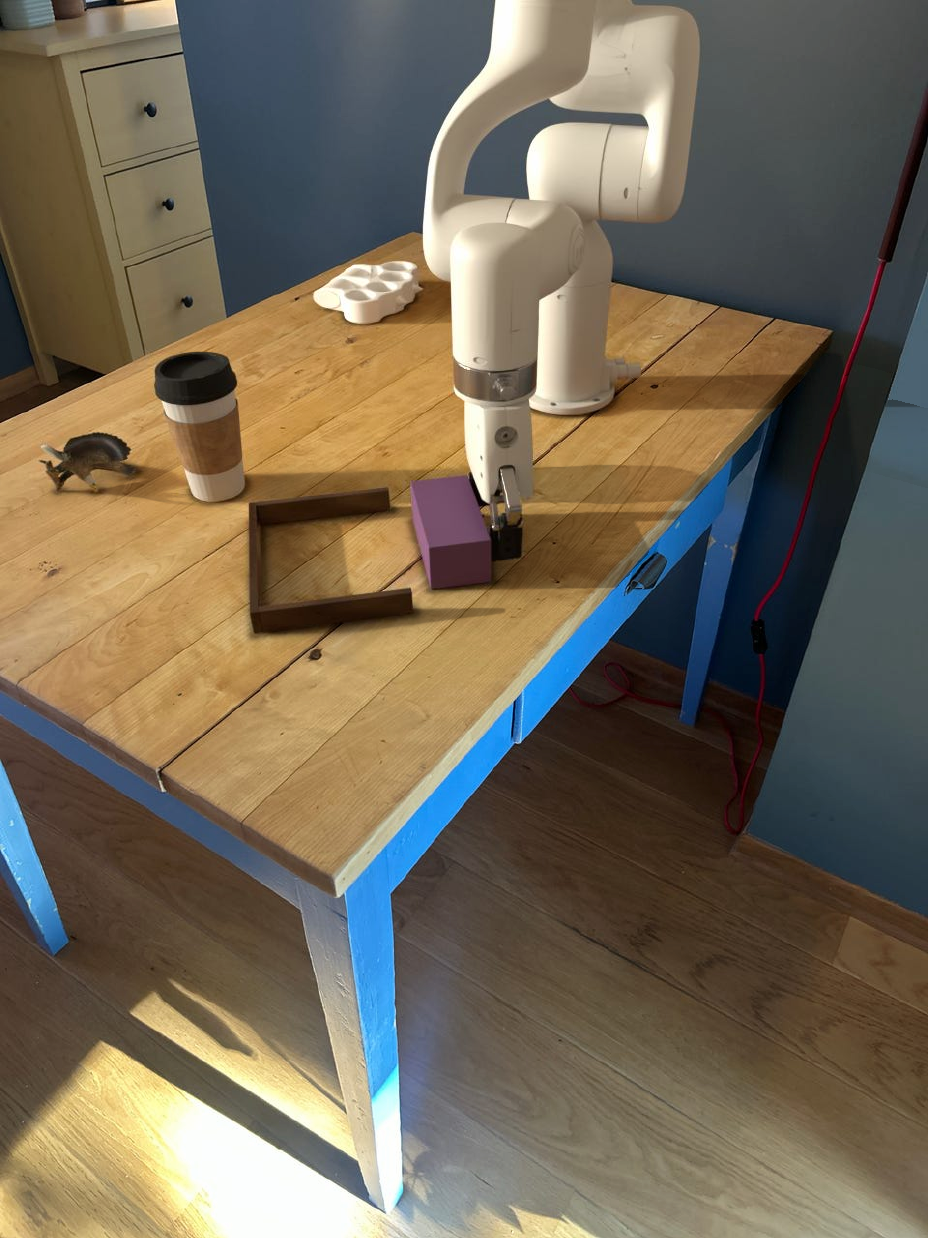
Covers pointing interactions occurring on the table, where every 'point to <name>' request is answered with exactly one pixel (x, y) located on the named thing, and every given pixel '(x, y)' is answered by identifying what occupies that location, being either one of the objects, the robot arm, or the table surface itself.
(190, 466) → the coffee cup
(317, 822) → the table surface
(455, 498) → the plum block
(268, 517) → the walnut bay
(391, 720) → the table surface
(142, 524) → the table surface
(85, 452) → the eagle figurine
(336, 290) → the white paint palette
